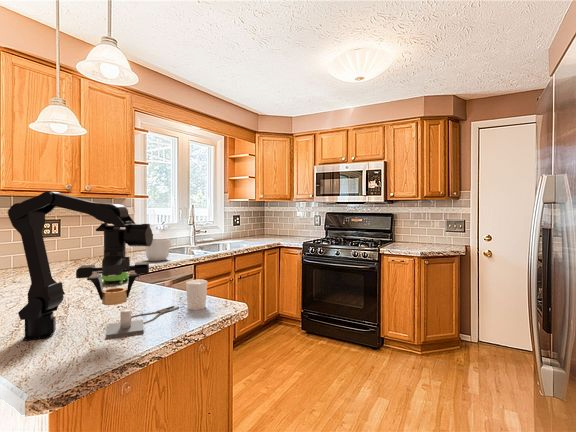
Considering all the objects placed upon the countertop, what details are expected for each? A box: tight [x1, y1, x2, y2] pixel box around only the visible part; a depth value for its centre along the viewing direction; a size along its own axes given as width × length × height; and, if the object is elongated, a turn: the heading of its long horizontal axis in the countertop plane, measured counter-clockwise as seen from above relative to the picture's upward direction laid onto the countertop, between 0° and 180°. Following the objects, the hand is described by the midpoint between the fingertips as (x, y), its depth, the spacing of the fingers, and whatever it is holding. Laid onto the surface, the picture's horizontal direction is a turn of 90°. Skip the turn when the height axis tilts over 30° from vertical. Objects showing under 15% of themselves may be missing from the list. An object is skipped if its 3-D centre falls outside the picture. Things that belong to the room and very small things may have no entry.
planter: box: [144, 238, 171, 262], centre depth 233 cm, size 17×17×15 cm
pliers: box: [131, 305, 180, 325], centre depth 115 cm, size 10×1×20 cm
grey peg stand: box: [105, 308, 145, 339], centre depth 100 cm, size 10×10×6 cm
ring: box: [101, 287, 128, 306], centre depth 95 cm, size 6×6×4 cm
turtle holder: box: [101, 272, 130, 285], centre depth 167 cm, size 12×18×12 cm
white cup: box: [185, 279, 208, 311], centre depth 124 cm, size 8×8×10 cm
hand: (114, 298), depth 96 cm, fingers closed on ring, 6 cm apart
